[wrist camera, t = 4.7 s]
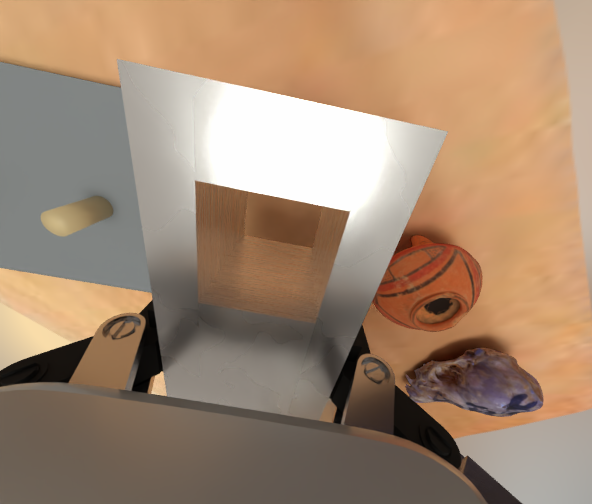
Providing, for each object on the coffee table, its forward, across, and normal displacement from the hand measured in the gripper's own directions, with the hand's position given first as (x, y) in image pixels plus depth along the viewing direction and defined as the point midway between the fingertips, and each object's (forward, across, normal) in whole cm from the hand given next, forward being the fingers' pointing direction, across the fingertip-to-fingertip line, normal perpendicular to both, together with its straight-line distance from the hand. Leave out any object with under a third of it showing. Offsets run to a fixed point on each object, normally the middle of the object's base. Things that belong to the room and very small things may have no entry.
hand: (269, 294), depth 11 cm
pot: (+9, -12, +1) cm, 15 cm away
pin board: (+8, +19, 0) cm, 20 cm away
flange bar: (+1, 0, 0) cm, 1 cm away
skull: (+10, -22, +13) cm, 27 cm away
